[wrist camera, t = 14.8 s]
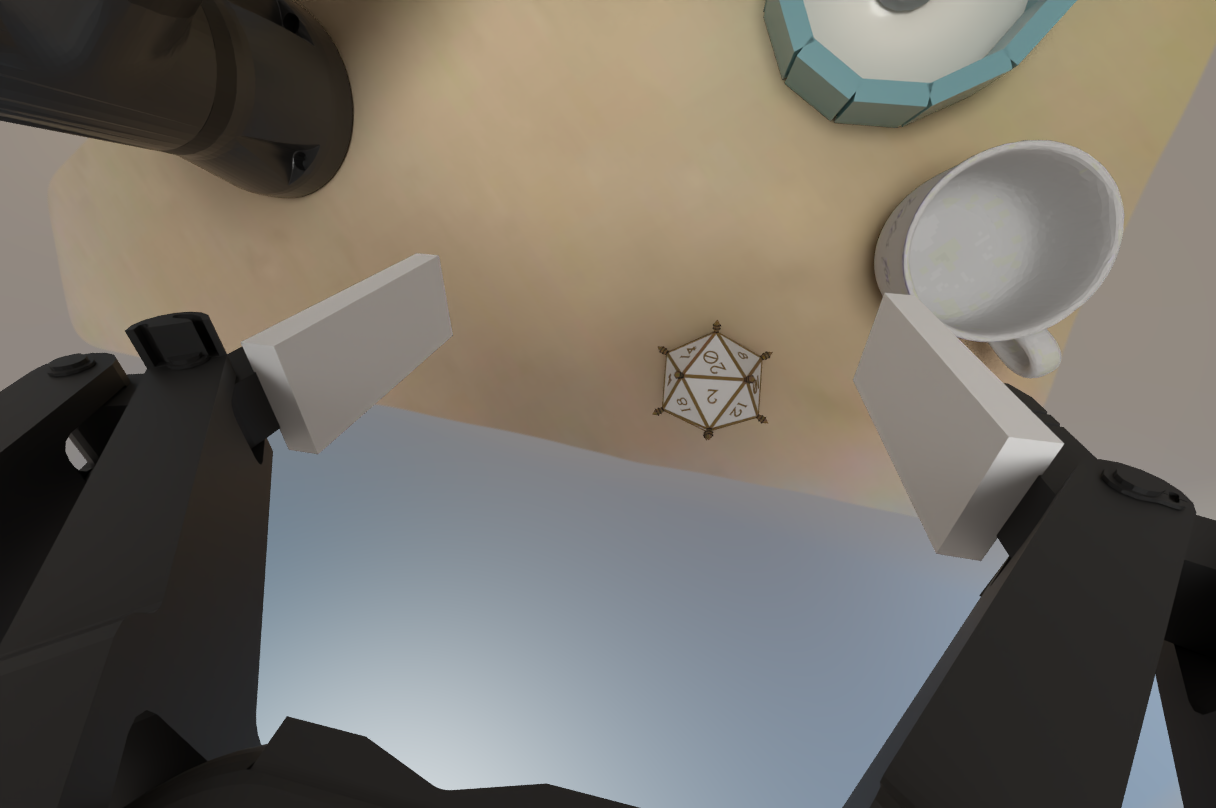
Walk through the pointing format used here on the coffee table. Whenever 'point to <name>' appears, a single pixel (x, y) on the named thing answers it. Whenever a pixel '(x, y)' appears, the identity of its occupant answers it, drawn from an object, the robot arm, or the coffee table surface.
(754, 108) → the coffee table surface
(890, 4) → the rook chess piece
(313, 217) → the coffee table surface
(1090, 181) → the teacup
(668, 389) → the game die
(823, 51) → the dish
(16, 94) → the robot arm
